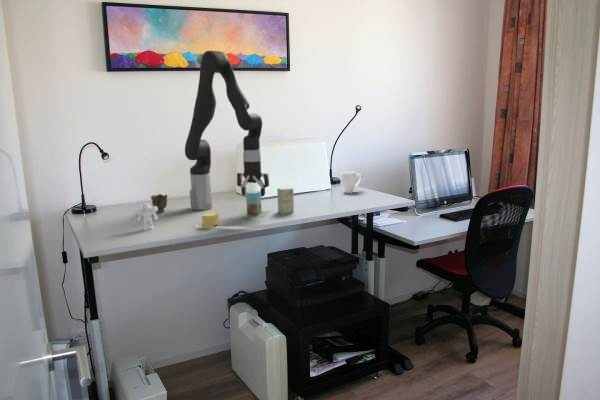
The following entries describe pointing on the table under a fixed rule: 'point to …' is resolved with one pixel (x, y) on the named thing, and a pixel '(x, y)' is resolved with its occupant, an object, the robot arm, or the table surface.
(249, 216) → the plate
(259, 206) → the walnut brick
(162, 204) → the cup
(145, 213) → the flower shoulder figurine
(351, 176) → the mug
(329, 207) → the table surface
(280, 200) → the skincare box
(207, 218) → the mustard brick
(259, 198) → the teal brick
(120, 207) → the table surface
